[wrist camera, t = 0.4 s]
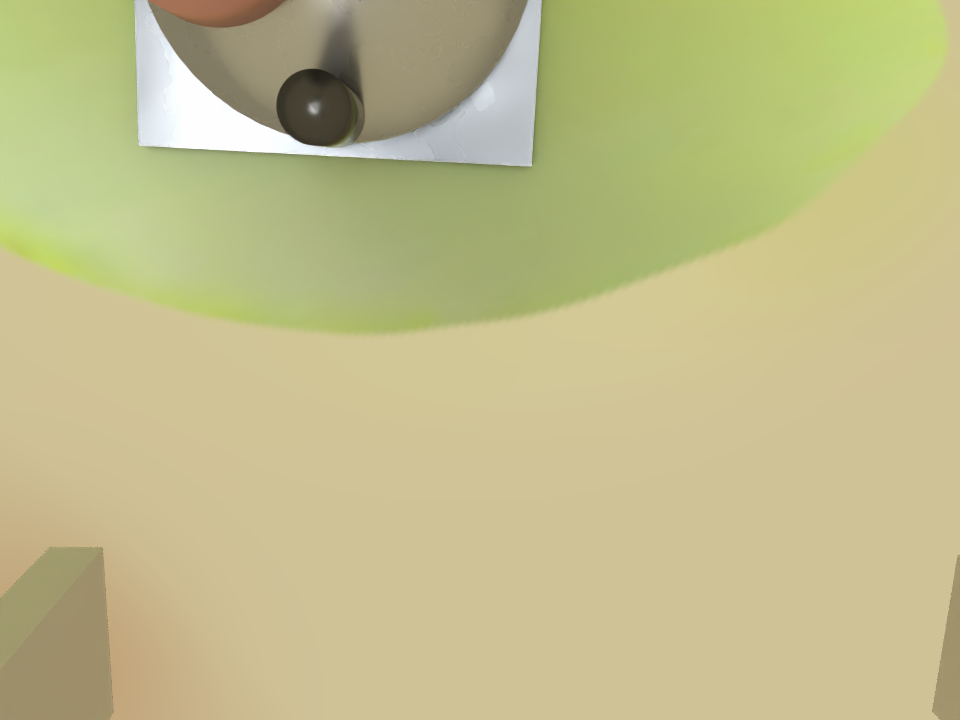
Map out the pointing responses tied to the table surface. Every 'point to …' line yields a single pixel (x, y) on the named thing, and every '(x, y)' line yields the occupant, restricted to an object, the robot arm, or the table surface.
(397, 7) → the turntable
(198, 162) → the table surface
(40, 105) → the table surface
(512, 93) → the turntable base
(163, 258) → the table surface
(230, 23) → the cover
